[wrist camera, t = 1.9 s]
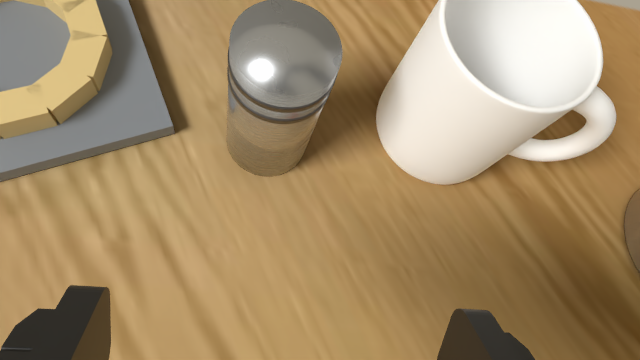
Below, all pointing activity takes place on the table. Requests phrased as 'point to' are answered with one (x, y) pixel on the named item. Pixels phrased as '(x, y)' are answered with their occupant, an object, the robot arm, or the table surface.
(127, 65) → the ring block
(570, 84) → the mug
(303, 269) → the table surface
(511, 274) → the table surface
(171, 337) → the table surface
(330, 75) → the piston
